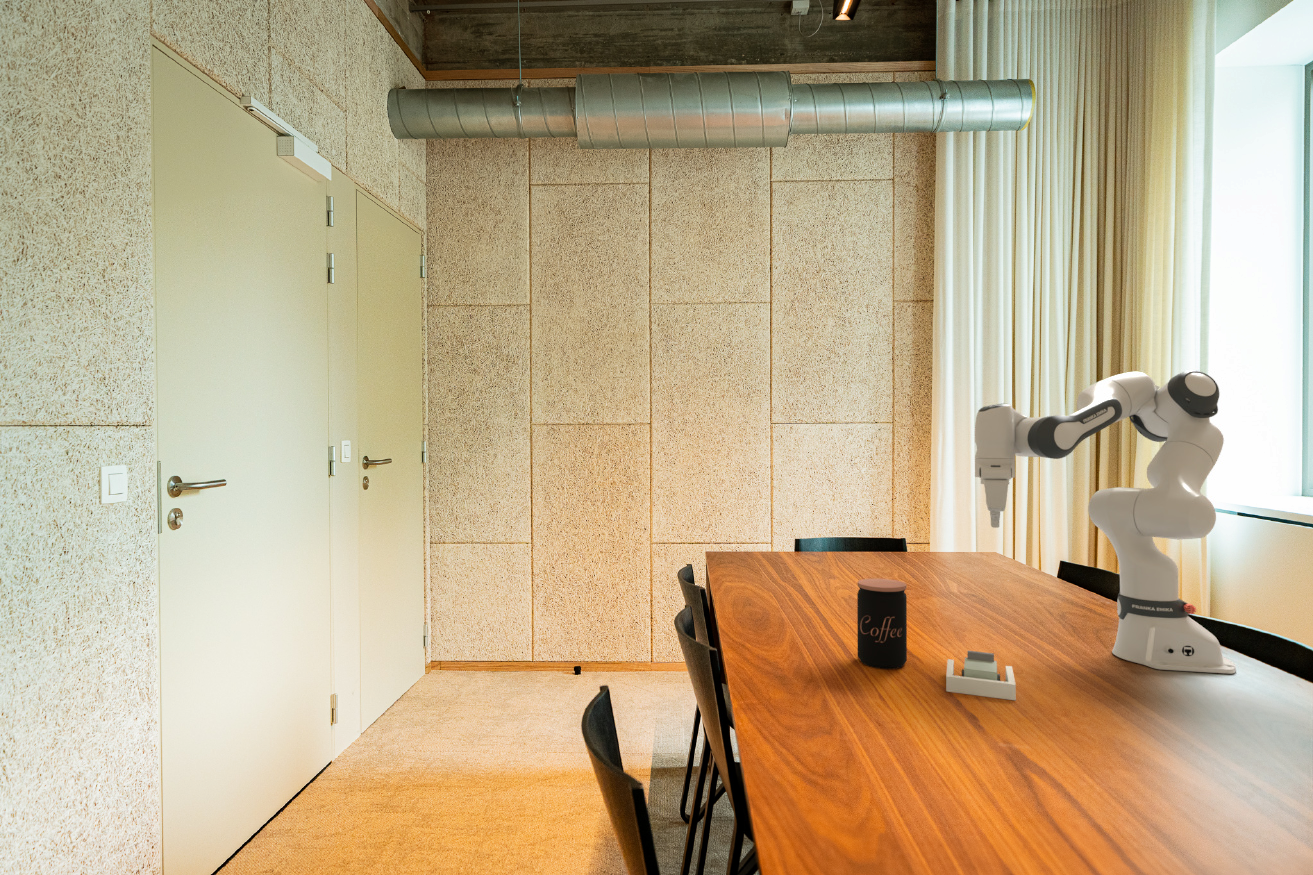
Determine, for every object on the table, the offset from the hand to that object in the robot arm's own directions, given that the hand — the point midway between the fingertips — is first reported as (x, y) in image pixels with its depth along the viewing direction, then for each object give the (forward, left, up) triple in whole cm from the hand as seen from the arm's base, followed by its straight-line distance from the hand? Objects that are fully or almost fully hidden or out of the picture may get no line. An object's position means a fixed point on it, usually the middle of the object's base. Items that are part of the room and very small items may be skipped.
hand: (995, 527), depth 172 cm
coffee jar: (+24, +24, -29) cm, 45 cm away
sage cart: (+4, +32, -29) cm, 43 cm away
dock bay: (+4, +31, -29) cm, 43 cm away
